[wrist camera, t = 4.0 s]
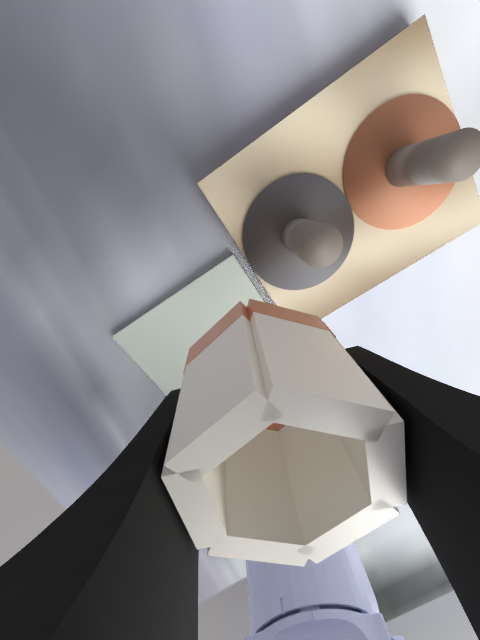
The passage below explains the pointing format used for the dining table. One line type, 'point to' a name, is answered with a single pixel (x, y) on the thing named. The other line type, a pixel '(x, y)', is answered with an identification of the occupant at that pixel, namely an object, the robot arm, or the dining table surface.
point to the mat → (184, 322)
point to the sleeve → (281, 441)
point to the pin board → (353, 181)
